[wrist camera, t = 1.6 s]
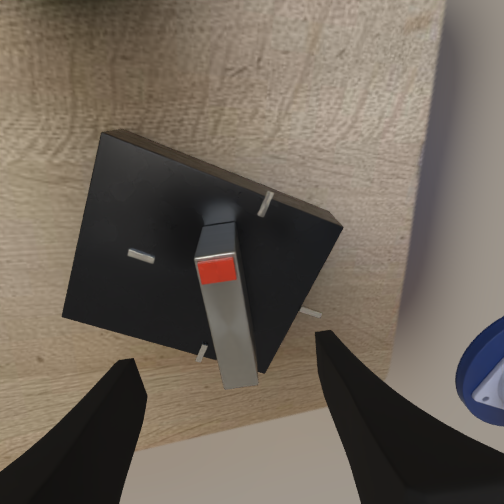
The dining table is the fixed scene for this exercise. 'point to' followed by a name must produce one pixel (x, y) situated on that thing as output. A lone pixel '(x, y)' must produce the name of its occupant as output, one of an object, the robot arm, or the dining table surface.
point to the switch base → (188, 247)
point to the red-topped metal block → (227, 304)
